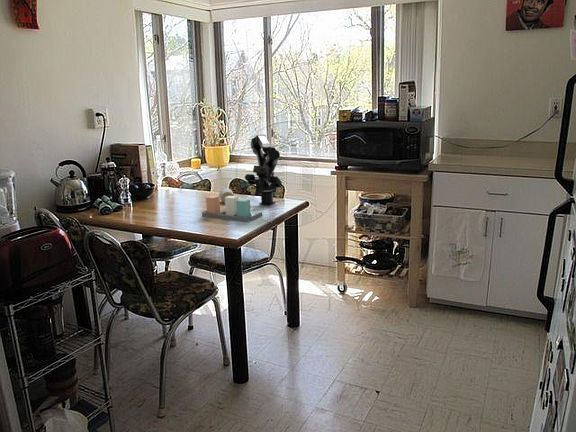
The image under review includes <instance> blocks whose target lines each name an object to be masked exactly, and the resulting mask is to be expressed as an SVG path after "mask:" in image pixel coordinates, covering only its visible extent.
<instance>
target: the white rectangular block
mask: <svg viewBox="0 0 576 432" xmlns="http://www.w3.org/2000/svg"><path fill="white" fill-rule="evenodd" d="M239 199H240V198H239V196H237V195H236V196H235V195H234V196H227V197H225V203H224V205H225V211H226V215H229V216H233V215H235V214H237V208H236V200H239Z"/></svg>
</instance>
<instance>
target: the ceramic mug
mask: <svg viewBox="0 0 576 432" xmlns="http://www.w3.org/2000/svg"><path fill="white" fill-rule="evenodd" d="M218 196H219V199H220V202H222V203H223V204H225V197H227V196H235V194H234V193H233V190H232V189H230V188H228V187H225V188H222V189H221V190H220V191H219V194H218Z"/></svg>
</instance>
